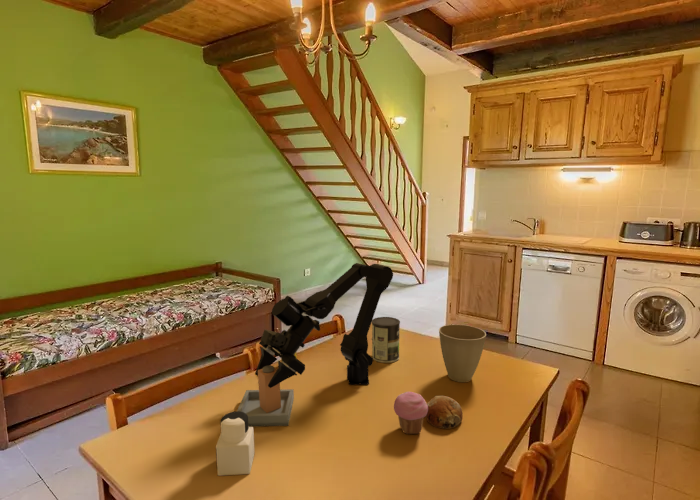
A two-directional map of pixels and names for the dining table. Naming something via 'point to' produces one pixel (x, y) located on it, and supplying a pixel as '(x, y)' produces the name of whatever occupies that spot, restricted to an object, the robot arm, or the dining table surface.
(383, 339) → the coffee can
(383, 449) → the dining table surface
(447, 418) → the bread roll
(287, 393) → the tray
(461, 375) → the plant pot
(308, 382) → the dining table surface
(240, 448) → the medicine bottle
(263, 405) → the block
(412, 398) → the cupcake
